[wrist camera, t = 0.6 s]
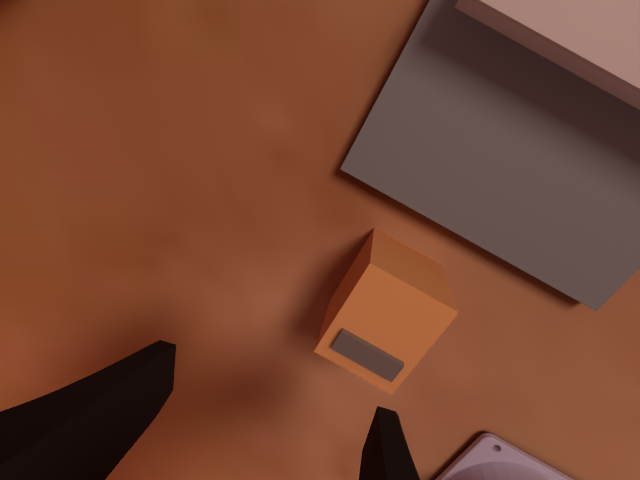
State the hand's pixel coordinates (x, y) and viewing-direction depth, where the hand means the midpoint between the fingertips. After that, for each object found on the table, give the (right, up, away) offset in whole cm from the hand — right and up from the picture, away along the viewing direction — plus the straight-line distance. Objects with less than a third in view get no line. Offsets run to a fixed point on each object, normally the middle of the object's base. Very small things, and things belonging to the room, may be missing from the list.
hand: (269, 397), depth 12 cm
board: (+12, +10, +4) cm, 16 cm away
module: (+5, +3, +7) cm, 10 cm away
